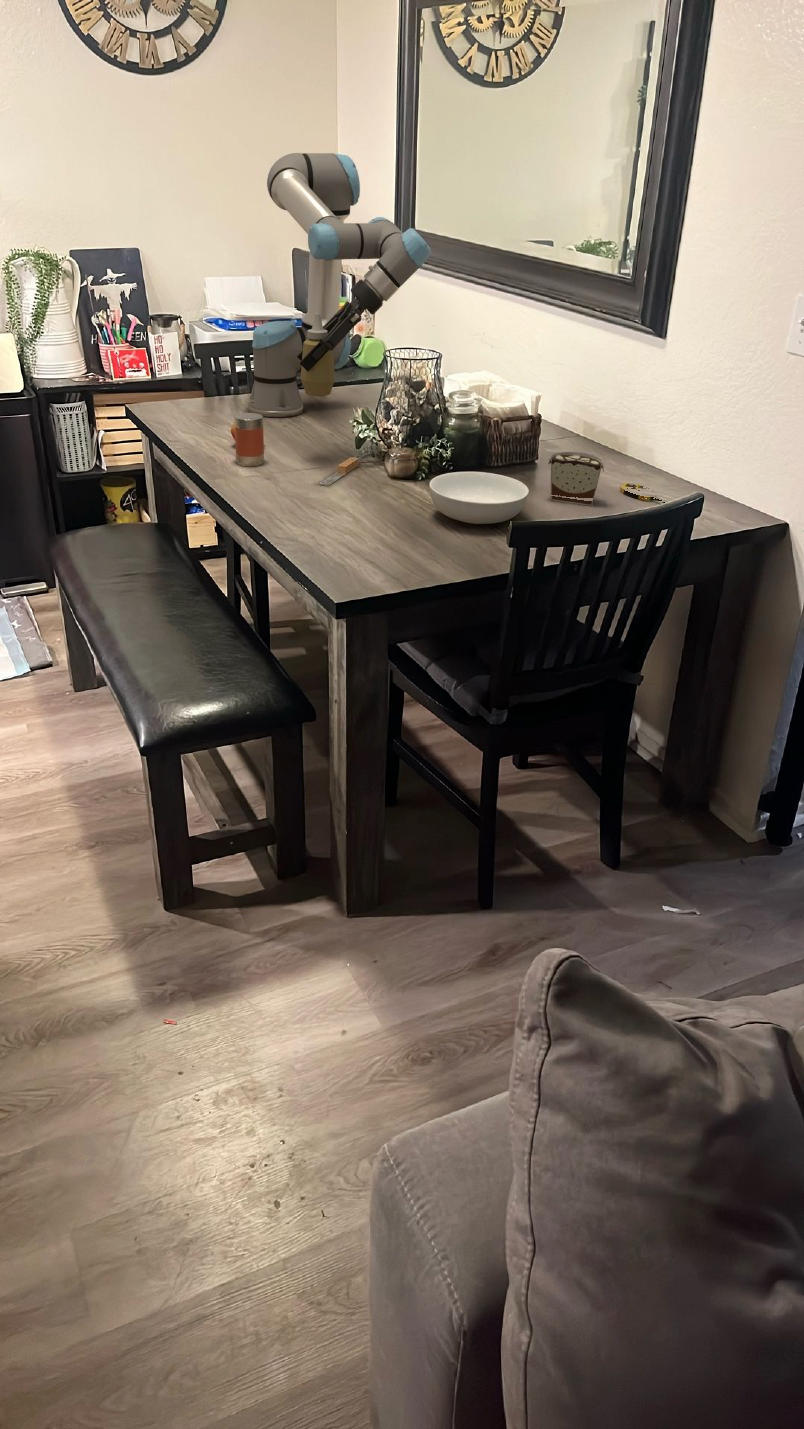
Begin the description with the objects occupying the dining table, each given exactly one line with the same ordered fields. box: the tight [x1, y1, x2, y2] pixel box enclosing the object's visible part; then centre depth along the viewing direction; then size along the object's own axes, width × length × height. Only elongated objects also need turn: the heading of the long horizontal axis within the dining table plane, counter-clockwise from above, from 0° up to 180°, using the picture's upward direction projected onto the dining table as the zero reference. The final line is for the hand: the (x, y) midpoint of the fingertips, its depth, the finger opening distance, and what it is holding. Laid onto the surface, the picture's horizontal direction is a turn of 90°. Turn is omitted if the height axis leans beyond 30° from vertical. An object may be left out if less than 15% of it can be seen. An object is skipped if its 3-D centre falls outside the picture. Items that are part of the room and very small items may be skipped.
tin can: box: [233, 412, 265, 467], centre depth 252 cm, size 7×7×11 cm
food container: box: [547, 451, 605, 507], centre depth 237 cm, size 12×6×10 cm, turn 71°
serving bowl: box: [428, 471, 530, 525], centre depth 225 cm, size 21×21×7 cm
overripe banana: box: [619, 482, 665, 504], centre depth 241 cm, size 5×2×15 cm
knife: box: [318, 456, 360, 487], centre depth 249 cm, size 18×2×2 cm, turn 159°
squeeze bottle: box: [300, 314, 336, 397], centre depth 247 cm, size 8×8×18 cm
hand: (302, 364), depth 248 cm, fingers closed on squeeze bottle, 6 cm apart
